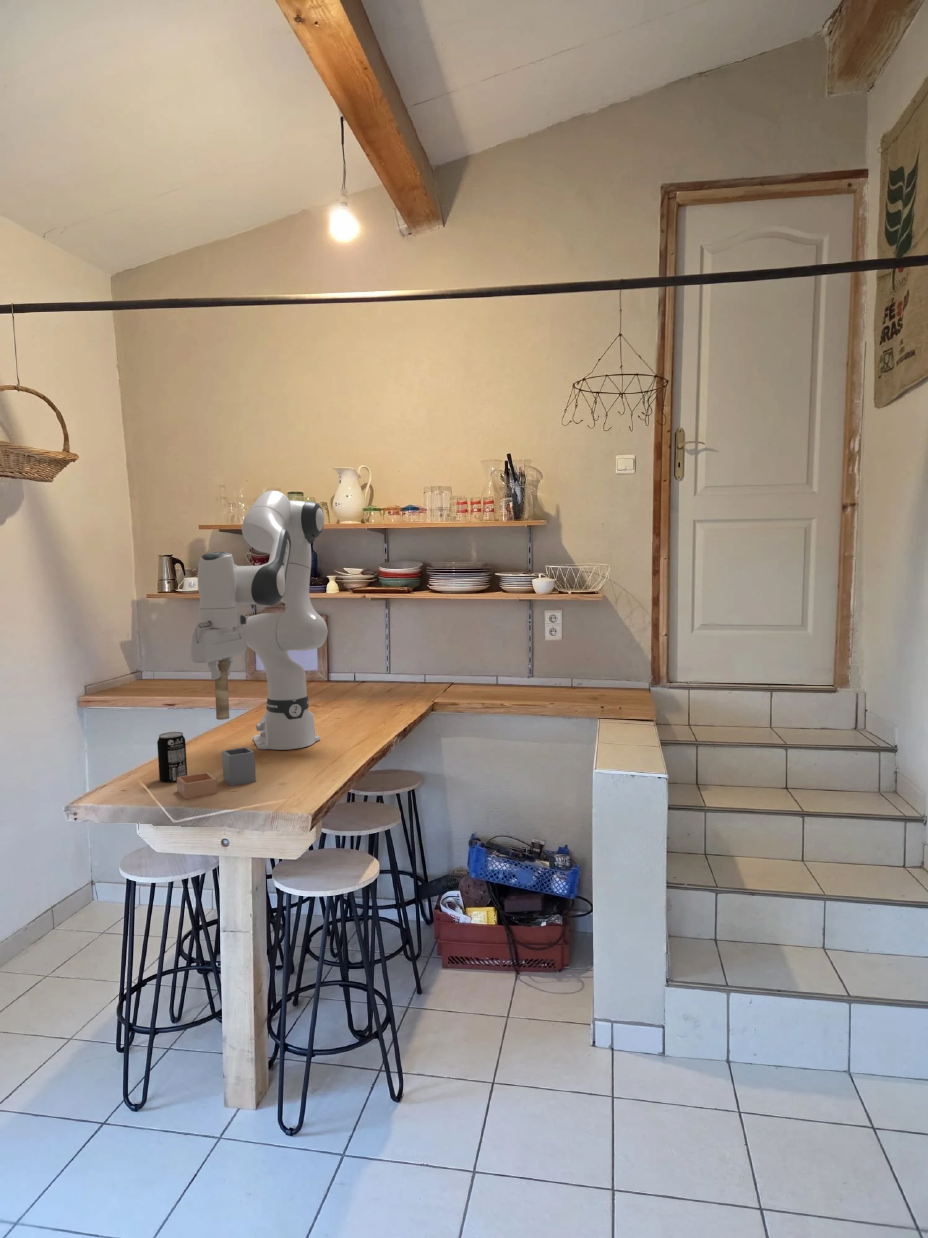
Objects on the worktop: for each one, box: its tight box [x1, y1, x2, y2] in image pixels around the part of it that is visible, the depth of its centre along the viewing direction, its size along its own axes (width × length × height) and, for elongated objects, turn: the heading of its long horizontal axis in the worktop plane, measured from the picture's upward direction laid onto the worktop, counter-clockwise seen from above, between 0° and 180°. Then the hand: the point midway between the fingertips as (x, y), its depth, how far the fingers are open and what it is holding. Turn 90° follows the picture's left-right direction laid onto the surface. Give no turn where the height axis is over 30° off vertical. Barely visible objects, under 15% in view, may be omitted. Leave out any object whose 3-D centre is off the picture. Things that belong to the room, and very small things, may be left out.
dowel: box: [214, 659, 230, 721], centre depth 190 cm, size 3×3×14 cm
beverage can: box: [156, 731, 188, 784], centre depth 198 cm, size 7×7×12 cm
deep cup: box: [221, 746, 257, 787], centre depth 195 cm, size 6×6×8 cm
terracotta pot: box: [176, 771, 218, 800], centre depth 187 cm, size 7×7×4 cm
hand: (221, 677), depth 190 cm, fingers closed on dowel, 3 cm apart
